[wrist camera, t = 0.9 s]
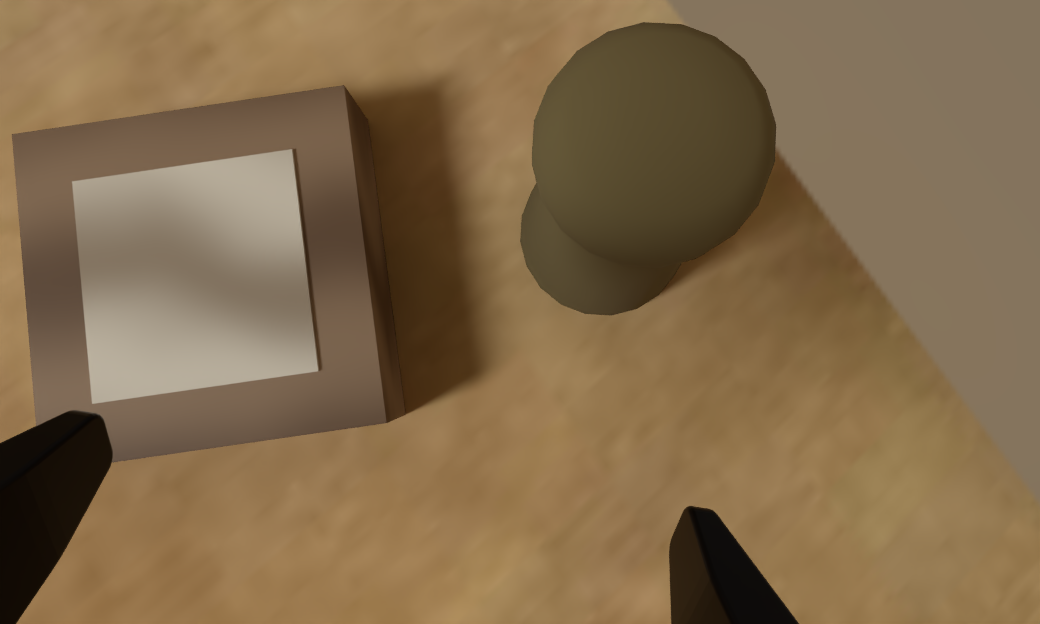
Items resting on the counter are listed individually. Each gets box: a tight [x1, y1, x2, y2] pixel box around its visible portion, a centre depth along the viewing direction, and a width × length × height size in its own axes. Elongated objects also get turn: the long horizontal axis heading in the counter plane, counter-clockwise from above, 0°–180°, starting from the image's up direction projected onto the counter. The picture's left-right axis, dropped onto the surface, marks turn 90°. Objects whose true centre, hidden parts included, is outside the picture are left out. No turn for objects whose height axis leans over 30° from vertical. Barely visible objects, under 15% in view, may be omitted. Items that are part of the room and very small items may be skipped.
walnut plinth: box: [12, 85, 406, 462], centre depth 22 cm, size 11×11×3 cm
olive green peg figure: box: [520, 22, 776, 315], centre depth 18 cm, size 6×6×11 cm
